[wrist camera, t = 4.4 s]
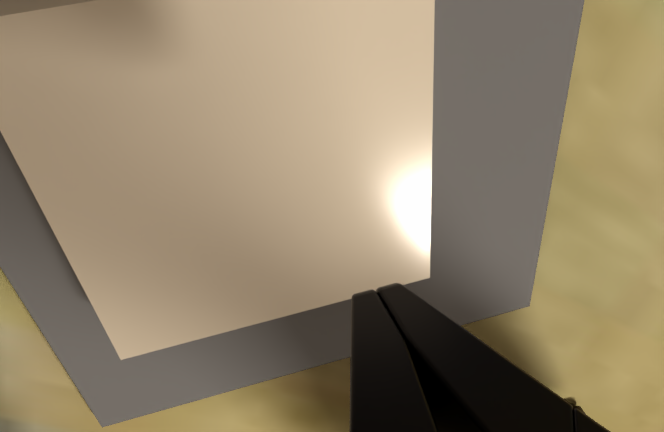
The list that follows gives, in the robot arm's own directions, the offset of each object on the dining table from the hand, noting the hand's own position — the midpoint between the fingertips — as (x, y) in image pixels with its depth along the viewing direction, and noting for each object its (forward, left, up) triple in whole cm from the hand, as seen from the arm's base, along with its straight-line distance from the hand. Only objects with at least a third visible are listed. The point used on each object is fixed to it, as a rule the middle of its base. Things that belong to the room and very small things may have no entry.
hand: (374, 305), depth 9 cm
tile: (0, -3, -5) cm, 6 cm away
